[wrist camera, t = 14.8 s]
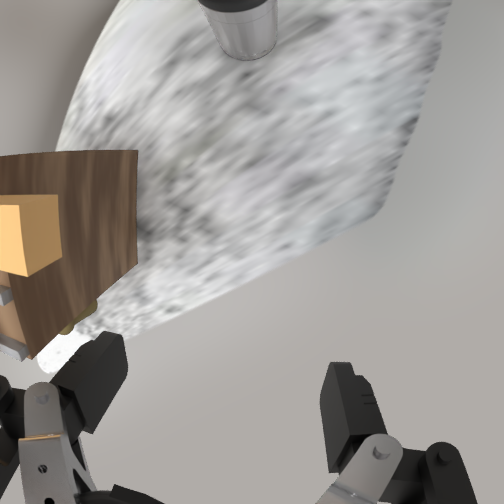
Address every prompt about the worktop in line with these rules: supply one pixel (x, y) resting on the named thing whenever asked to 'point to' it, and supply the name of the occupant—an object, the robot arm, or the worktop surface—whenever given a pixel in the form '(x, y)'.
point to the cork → (80, 318)
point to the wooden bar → (28, 233)
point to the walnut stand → (69, 240)
